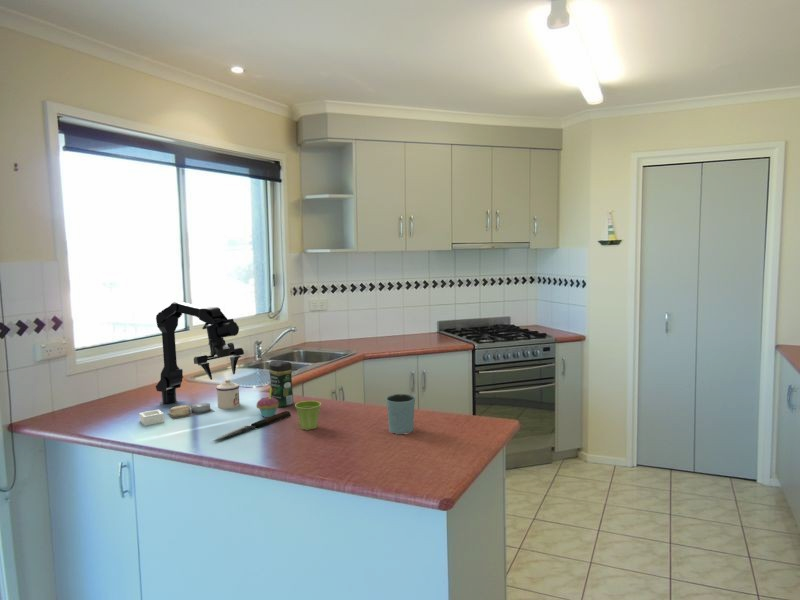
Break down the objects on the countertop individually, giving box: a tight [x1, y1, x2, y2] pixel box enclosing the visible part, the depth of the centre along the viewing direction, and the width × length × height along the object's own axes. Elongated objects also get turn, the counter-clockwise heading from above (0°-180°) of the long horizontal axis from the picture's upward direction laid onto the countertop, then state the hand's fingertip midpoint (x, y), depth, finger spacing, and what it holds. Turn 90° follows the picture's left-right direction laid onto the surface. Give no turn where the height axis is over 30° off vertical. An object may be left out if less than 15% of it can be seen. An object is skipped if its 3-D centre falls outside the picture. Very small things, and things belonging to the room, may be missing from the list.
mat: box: [166, 407, 215, 421], centre depth 221 cm, size 10×16×1 cm, turn 127°
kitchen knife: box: [212, 410, 291, 442], centre depth 203 cm, size 36×2×5 cm
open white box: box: [138, 408, 165, 427], centre depth 211 cm, size 7×7×4 cm
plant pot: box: [294, 400, 322, 431], centre depth 201 cm, size 9×9×9 cm
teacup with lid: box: [216, 378, 241, 410], centre depth 231 cm, size 12×9×12 cm
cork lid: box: [169, 405, 191, 418], centre depth 219 cm, size 7×7×3 cm
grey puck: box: [190, 402, 211, 413], centre depth 224 cm, size 7×7×2 cm
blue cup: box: [385, 393, 416, 435], centre depth 195 cm, size 10×10×12 cm
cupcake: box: [256, 387, 279, 418], centre depth 217 cm, size 9×8×12 cm
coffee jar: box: [268, 359, 294, 408], centre depth 232 cm, size 10×8×19 cm
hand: (222, 376), depth 224 cm, fingers open, 9 cm apart
